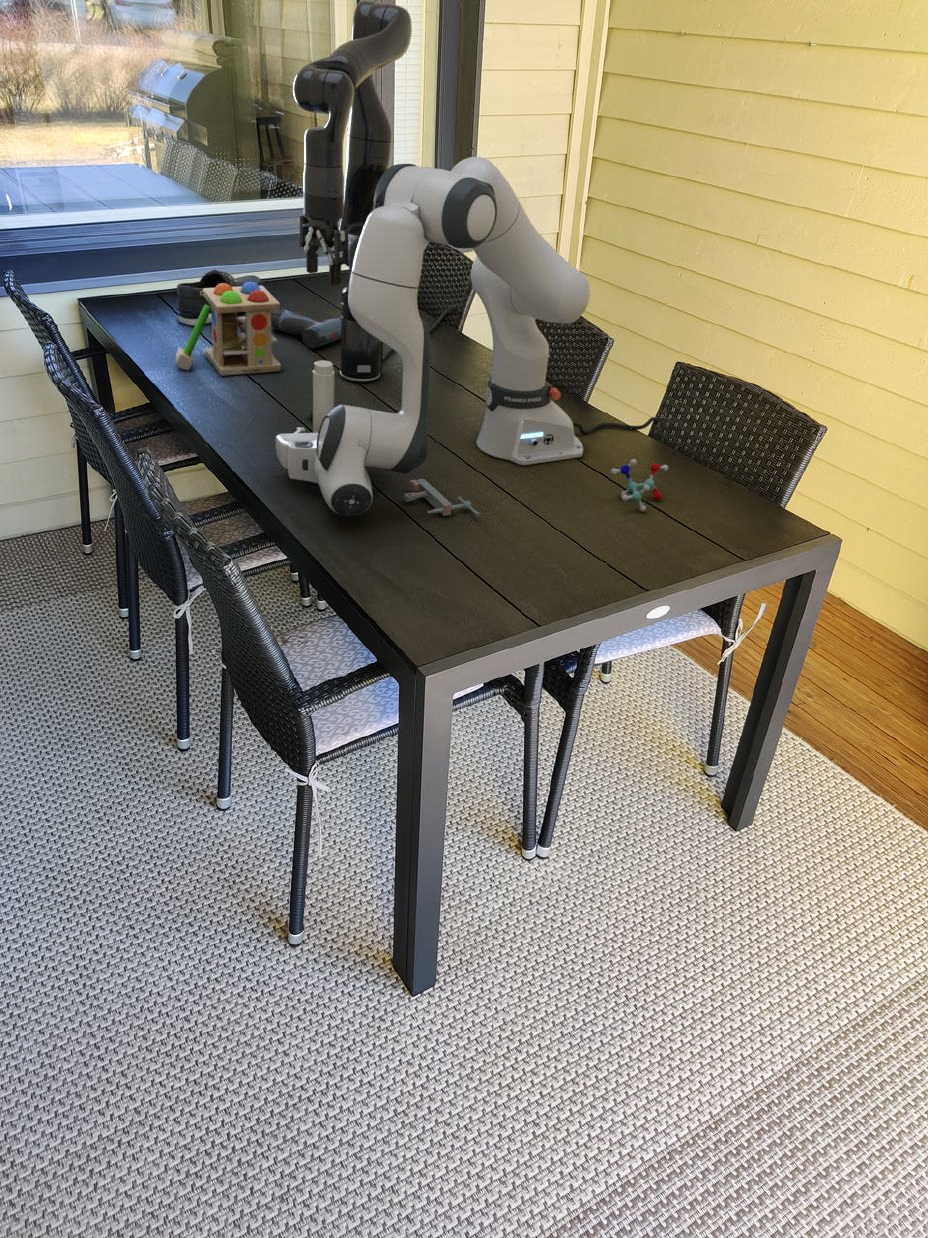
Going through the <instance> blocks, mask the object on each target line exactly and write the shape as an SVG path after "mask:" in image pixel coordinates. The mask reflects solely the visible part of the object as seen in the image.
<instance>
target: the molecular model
mask: <svg viewBox="0 0 928 1238" xmlns="http://www.w3.org/2000/svg"><path fill="white" fill-rule="evenodd" d="M637 463H638V461H637V459H636V458H631V460H630V461H629V464H627V465H626V464H624V465H622V466H621V467H620V468H618V469H617V468H615V467H612V468H611V469H610V474H611V475H613V476H615V475H617V473H621V474H623V475H625V477H626V478H627V481H628V485H627V489H626V490H622V491H621V492H620V496H621V501H623V502H627V501H628V500H631V499H633V500H634V501H636V502H637V504H638V505H639V511H640V512H642V513H644V512H645V511H646V510H647V506H646V505H644V504H643V501H642V498H643V493H645V492H649V491H650V492H651V493H652V496H653V499H654V500H657V501H659V500H661V499H662V496H663V494H662V492H660V491H658V489H657V488H656V486H655V481H654V476H655V473H656V472H657V471H659V470H662V471H663V472H667V471H668V470H669V465H667V464H663V465H659V464H658V463H656V462H655V463H652V464H651V465H650V470H651V472H650V475H649V478H647V479H646V480H645V481H644V482H640V483H638V482H636V481H633V480H632V477H631V475H630V471H631V470H630V468H632V466H636V465H637ZM638 488H642V489H641V490H640V491H639V490H638ZM630 492H632V494H631V495H630V494H629V493H630ZM628 494H629V495H628Z"/></svg>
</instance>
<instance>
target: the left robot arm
mask: <svg viewBox="0 0 928 1238" xmlns="http://www.w3.org/2000/svg"><path fill="white" fill-rule="evenodd" d="M351 25H352V26H351V40H349V41H346V42H344V43H342V44H340V45H339V46H338V47H336V49H335V50H333V52H331V53H330V54H329V55H328V56H327V57H323V58H319V59H318V60H315V61H312V62H310V63H308V64H306V65H304V66H303V67H302V68H300V70H298V72H297V73H296V76H295V78H294V81H293V85H292V89H293V90H292V93H293V97H294V100H295V102H296V104H297V106H299V107H300V108H301V109H302V110H304V111H306V112H309V113H316V114H323V115H329V117H328V118H329V119H328V121H327V123H326V125H323V126H315V127H310V128H307V130H306V131H305V133H304V140H303V141H304V142H303V143H304V144H303V145H304V148H303V149H304V151H303V153H304V166H303V176H302V178H303V179H302V180H303V181H302V182H303V183H302V185H303V191H302V193H303V196H302V197H303V215H300V216H299V240H298V241H299V243H298V244H299V247H300V248H303V251H304V253H305V255H306V256H305V257H306V260H305V262H306V272H307V273H309V274H316V273H318V272H319V253H318V251H319V249H320V248H321V249H322V251H323V253H324V255H326V256H327V260H328V262H329V265H328V283H329V285H331V286H338V285H340V284H341V282H342V265H345V266H347V267H348V280H347V281H348V283H347V284H348V285H347V286H345V287H343V288H342V290H341V307H340V308H341V310H340V311H341V312H340V314H341V315H340V318H341V338H340V370H339V376H340V377H341V378H342V380H345V381H348V382H352V383H359V384H360V383H361V384H364V383H365V384H366V383H367V384H369V383H373V382H376V381H378V380H380V378H381V375H382V374H383V362H384V361H385V360H387V358H388V356H390V354H392V353H393V352H396V351H395V350H393V349H392V348H391V347H390V349H388V350H387V351H386V352H385V353H384V343H383V342H382V341H380V340H379V339H377V338H375V337H374V336H372V335H371V334H370V333H368V332H367V331H366V330H364V329H363V328H362V327H361V326H360V325H359V324H358V323H357V321H356V320H355V319H354V317H353V315H352V313H351V311H350V308H349V305H348V291H349V282H350V276H351V272H352V266H353V261H354V257H355V253H356V249H357V245H358V242H359V239H360V236H361V233H362V230H363V227H364V225H365V222H366V220H367V217H368V216H369V214H370V213H371V212H372V211H373V210H374V195H375V190H376V187H377V184H378V182H379V180H380V178H381V176H382V175H383V173H384V172H385V171H386V170H387V169H388V168H389V167H390V162H391V156H392V155H391V153H392V145H393V130H392V124H391V122H390V119H389V115H388V113H387V111H386V109H385V107H384V104H383V102H382V99H381V98H380V96H379V93H378V90H377V87H376V84H375V80H374V73H375V72H377V71H378V70H380V69H382V68H384V67H386V66H388V65H390V64H391V63H393V62H396V61H397V60H400V59H401V58H402V57H404V55H405V54H406V53H407V52H408V49H409V46H410V44H411V40H412V32H413V24H412V18H411V15H410V13H409V11H408V10H407V9H406V8H405V7H403V6H401V5H398V4H392V3H386V2H380V1H374V0H360V1H359V2H358V3H357V4H356V6H355V9H354V13H353V17H352V24H351ZM347 126H348V128H347ZM346 129H347V138H346V139H347V140H346V155H345V156H346V157H345V175H344V140H345V133H346ZM339 220H340V223H339ZM453 307H454V306H450V307H448V308H447V309H446V310H445V311H443V312H442V313H441V314H440V316H439V317H438V318H437V320H436V321H435V323H434V324H432V326H430V327H429V328H428V330H429V334H431V333H432V332H433V331H434V330H435V329H436V328H437V327H438V326H439V324H440V323H441V322H442V320H443V318H444V317H445V316H446V315H447V314H449V313H450V312H451V311H453V312H458V309H457V307H456V308H455V309H453ZM383 353H384V354H383Z"/></svg>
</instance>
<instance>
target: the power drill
mask: <svg viewBox="0 0 928 1238" xmlns="http://www.w3.org/2000/svg"><path fill="white" fill-rule="evenodd" d="M271 328H274V329H276V330H278V331H281V332H284V333H288V334H290V335H296V336H300V337H302V341H303V343H304V344H305V346H306V347H308V348H309V349H316V348H319V347H322V346H325V345H328V344H330V343H333V342H336V341H338V340H341V317H338V318H331V319H324V320H322V321H320V322H319V321H316V320H314V319H312V318H309V317H306V316H304V315H302V314H300V313H297V312H293V311H291V310H288V309H283V308H280V310H271Z"/></svg>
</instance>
